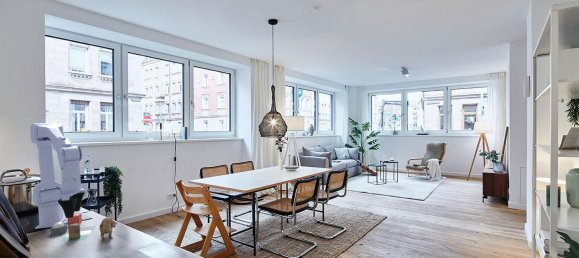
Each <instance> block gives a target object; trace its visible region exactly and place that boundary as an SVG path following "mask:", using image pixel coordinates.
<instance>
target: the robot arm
mask: <svg viewBox="0 0 579 258" xmlns="http://www.w3.org/2000/svg"><path fill="white" fill-rule="evenodd" d="M29 134H30V141H31V144H32V143H33V144H36V146H37V153H38V165H39V166H38V167H39V177H40V182H39V183H38V184H37V185H35V186H34V187H33V189H32V196H31V197H32V203H33V205H35V206H36V207H37V208H38V221H39V224H38V225H37V226H36V227H34V228H35V230H36V229H44V228H45V229H46V228H51V227H52V226H54V224H56V223H58V222H62V223H64V221H66V219H68V218H72V217H73V216H74V214H75V213H76V212H77V213H78V212H81V207H82V201H83V198H84V196H85V194H86V190H85V188H82V184H81V183H82V182H81V180H82V179H81V167H80V166H81V165H80V161H82V159H83V152H82V149H81V147H80V145H74V144H73V143H72V141H71V140H70V139H69V138H68V137H66V136H63V134H64V127H63V124H62V123H61V122H41V123H40V122H39V123H36V122H33V123H32V124H31V125H30V127H29ZM53 149H54V150H55V153H57V155H56V156H57V160H58V164H59V166H58V167H59V168H60V172H61V175H60V176H61V182H59V181H57V180H55V167H54V158H53V157H54V156H53ZM64 216H65V218H64Z"/></svg>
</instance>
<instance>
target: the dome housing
mask: <svg viewBox="0 0 579 258" xmlns="http://www.w3.org/2000/svg"><path fill="white" fill-rule="evenodd" d="M63 224H64V226H63V227H60V228H53V226H52V227H49V232H50V233H49V234H50V236H54V237H55V236H60V235H63V234H66V233H68V223H67V224H66V223H63Z"/></svg>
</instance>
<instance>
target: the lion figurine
mask: <svg viewBox="0 0 579 258" xmlns="http://www.w3.org/2000/svg"><path fill="white" fill-rule="evenodd" d="M117 224H118V222H116V221H114V219H113V217H109V216H108V217H104V218H103V219H102V220H101V223H100V224H99V231H100V238H101V240H100V242H102V243H103V242H105V240H106V238H105V235H108V240H110V241H111V240H112V239H114V237H112V234H113V228H114V229H115V228H116V226H117Z"/></svg>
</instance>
